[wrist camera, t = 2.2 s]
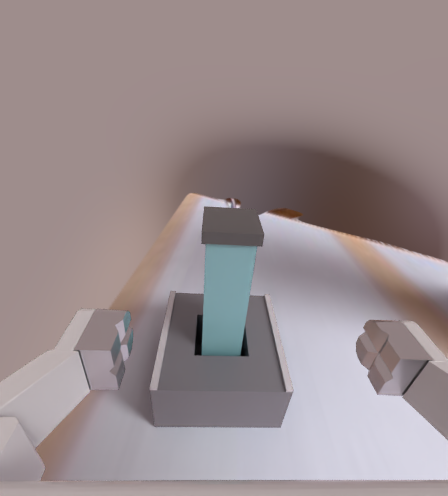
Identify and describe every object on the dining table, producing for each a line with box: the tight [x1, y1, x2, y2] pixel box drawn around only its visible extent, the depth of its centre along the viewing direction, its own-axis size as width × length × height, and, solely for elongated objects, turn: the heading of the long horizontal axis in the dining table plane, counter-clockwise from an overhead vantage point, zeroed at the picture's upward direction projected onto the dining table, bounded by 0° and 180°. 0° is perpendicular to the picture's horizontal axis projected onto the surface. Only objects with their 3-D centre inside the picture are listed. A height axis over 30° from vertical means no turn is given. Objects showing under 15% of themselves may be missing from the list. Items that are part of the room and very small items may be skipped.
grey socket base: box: [150, 291, 294, 427], centre depth 29 cm, size 12×12×6 cm
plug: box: [202, 207, 264, 356], centre depth 25 cm, size 4×4×18 cm
